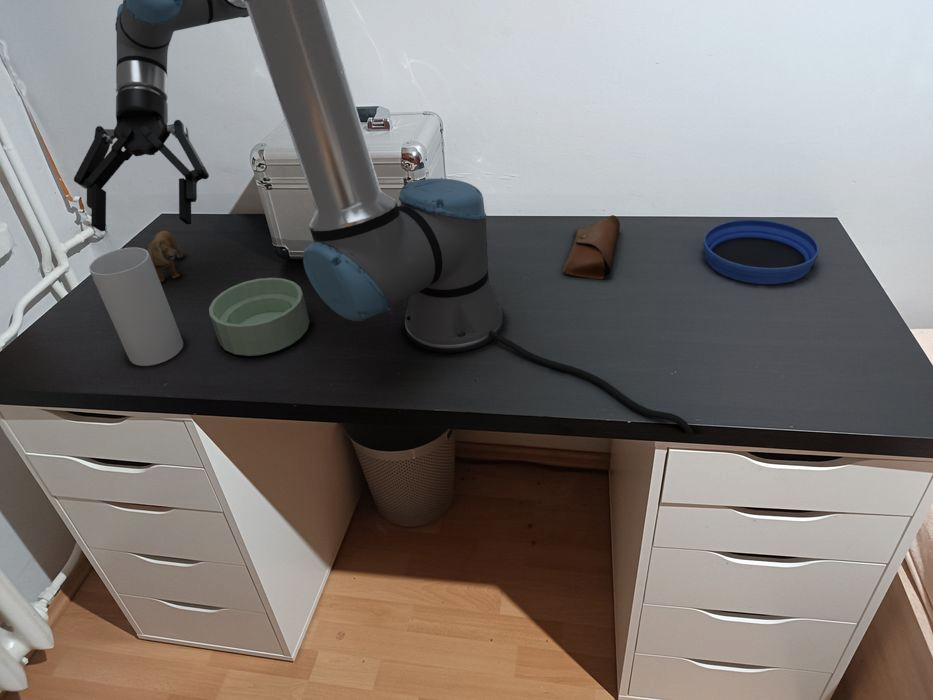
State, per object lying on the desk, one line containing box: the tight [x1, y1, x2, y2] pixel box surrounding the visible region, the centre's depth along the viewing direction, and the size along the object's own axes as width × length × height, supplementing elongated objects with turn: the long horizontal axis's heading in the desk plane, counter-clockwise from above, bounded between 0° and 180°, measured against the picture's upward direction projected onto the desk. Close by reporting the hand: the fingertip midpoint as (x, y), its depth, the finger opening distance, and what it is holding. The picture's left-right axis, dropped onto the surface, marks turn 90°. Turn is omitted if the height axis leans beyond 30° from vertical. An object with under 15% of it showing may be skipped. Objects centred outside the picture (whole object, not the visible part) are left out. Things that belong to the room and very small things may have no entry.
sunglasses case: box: [562, 214, 621, 280], centre depth 122 cm, size 18×7×7 cm
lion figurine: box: [145, 230, 184, 283], centre depth 127 cm, size 15×5×9 cm, turn 21°
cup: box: [88, 247, 184, 367], centre depth 103 cm, size 8×8×16 cm
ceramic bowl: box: [208, 277, 310, 357], centre depth 108 cm, size 14×14×6 cm
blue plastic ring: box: [702, 219, 819, 285], centre depth 116 cm, size 18×18×4 cm
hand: (141, 225), depth 106 cm, fingers open, 13 cm apart
